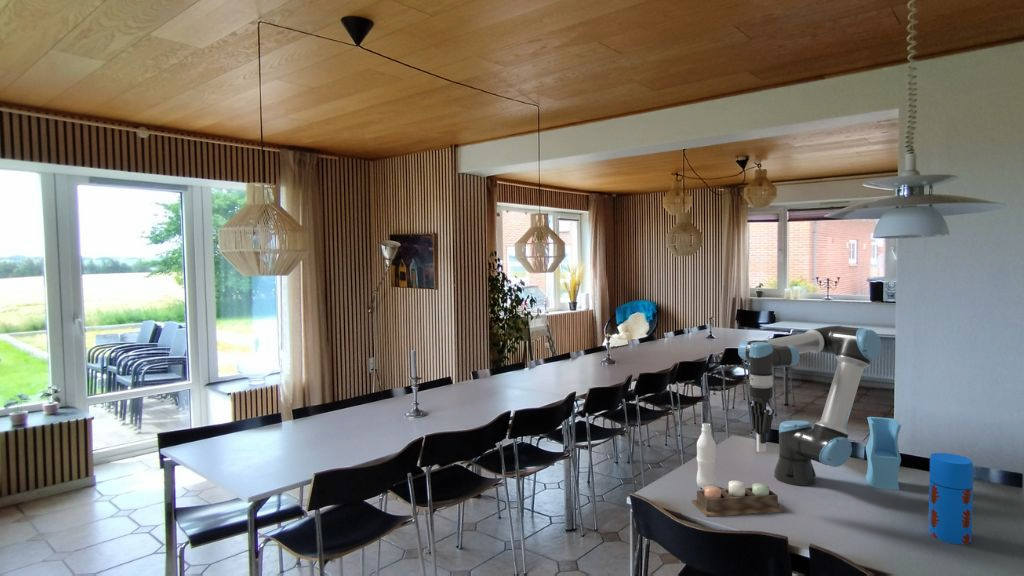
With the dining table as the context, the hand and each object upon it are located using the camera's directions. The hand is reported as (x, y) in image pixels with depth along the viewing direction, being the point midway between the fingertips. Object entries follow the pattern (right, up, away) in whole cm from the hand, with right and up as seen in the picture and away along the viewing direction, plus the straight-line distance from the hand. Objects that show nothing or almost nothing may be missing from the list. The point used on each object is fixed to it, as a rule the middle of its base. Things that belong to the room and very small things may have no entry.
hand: (761, 451), depth 205 cm
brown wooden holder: (-9, -20, 0) cm, 22 cm away
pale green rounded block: (0, -18, +1) cm, 18 cm away
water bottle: (-14, -19, +17) cm, 29 cm away
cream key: (-9, -16, 0) cm, 19 cm away
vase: (+55, -18, +19) cm, 61 cm away
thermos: (+49, -20, -24) cm, 58 cm away
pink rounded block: (-18, -18, -1) cm, 25 cm away
